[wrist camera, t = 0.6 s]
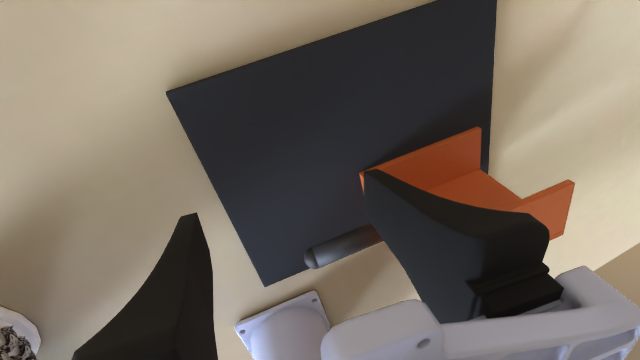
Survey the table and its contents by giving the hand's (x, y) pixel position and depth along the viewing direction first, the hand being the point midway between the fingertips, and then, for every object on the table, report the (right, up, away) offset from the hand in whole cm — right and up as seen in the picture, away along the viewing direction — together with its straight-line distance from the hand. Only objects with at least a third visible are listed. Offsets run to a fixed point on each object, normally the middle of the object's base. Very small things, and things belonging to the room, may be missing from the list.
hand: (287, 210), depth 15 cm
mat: (+5, +3, +12) cm, 13 cm away
